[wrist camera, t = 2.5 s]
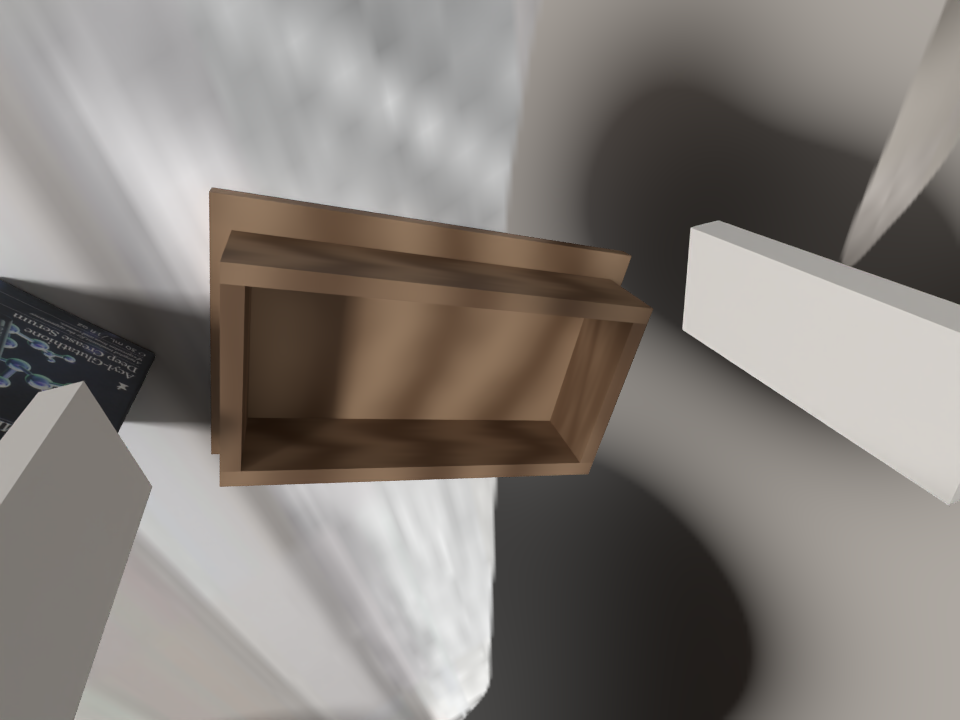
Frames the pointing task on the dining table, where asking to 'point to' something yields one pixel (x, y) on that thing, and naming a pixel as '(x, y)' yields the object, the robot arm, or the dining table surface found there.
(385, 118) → the dining table surface
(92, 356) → the box
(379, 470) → the tray
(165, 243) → the dining table surface
